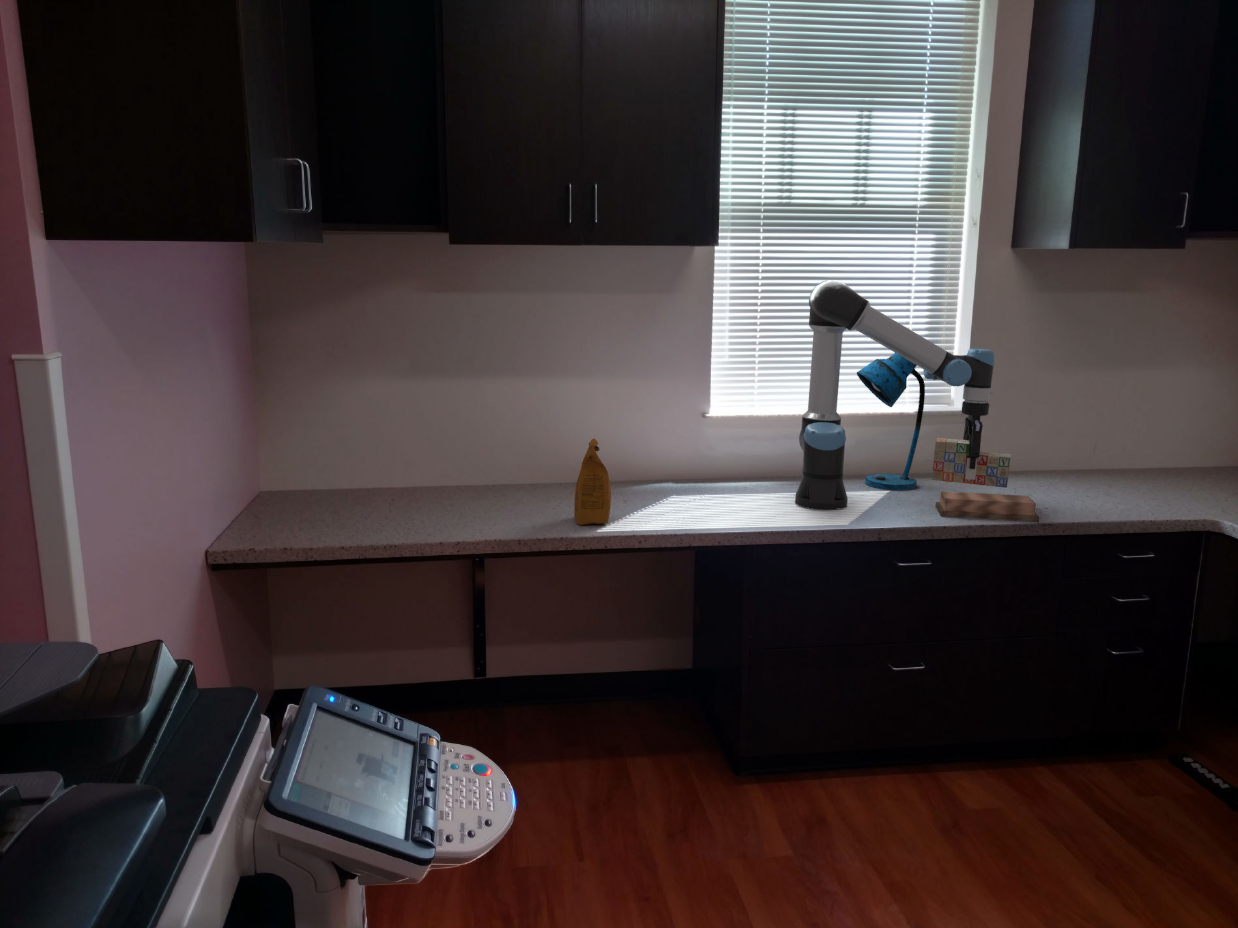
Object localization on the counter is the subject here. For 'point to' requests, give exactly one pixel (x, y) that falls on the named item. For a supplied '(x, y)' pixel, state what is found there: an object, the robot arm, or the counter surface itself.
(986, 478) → the stack of blocks
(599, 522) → the coffee package
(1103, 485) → the counter surface
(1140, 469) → the counter surface
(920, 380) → the desk lamp
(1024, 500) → the base brick
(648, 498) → the counter surface
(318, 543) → the counter surface
